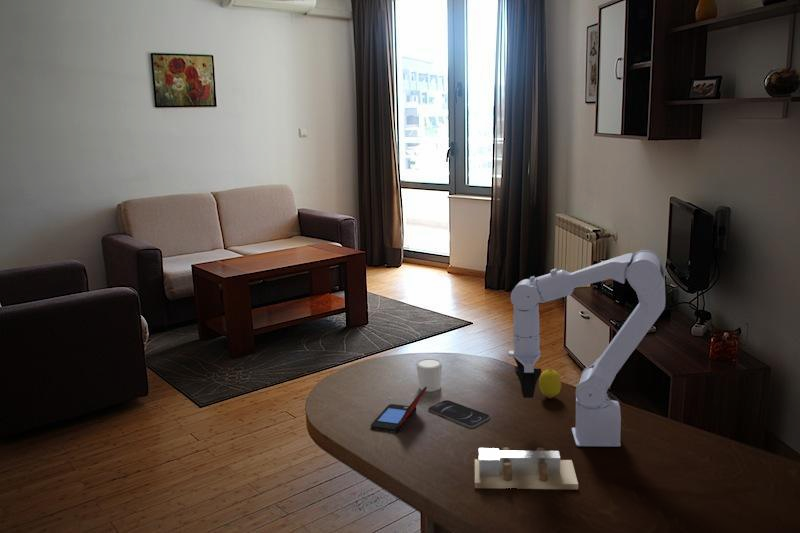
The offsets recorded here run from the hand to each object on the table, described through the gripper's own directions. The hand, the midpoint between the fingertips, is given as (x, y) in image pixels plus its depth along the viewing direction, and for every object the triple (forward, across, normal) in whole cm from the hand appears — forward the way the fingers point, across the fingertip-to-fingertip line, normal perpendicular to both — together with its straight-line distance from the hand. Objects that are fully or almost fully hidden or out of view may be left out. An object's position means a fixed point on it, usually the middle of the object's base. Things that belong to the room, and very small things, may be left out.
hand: (526, 390), depth 154 cm
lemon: (+10, -17, +7) cm, 21 cm away
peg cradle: (+10, +20, -2) cm, 22 cm away
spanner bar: (+9, +20, -3) cm, 22 cm away
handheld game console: (+10, -5, -30) cm, 32 cm away
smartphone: (+10, -8, -16) cm, 21 cm away
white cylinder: (+10, -24, -24) cm, 35 cm away
